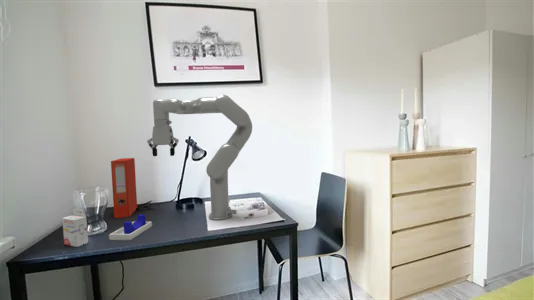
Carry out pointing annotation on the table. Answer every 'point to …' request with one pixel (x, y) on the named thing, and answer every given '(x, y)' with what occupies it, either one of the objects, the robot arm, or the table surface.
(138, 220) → the cable clip
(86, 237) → the ink cartridge box
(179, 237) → the table surface
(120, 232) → the tray
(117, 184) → the file binder
